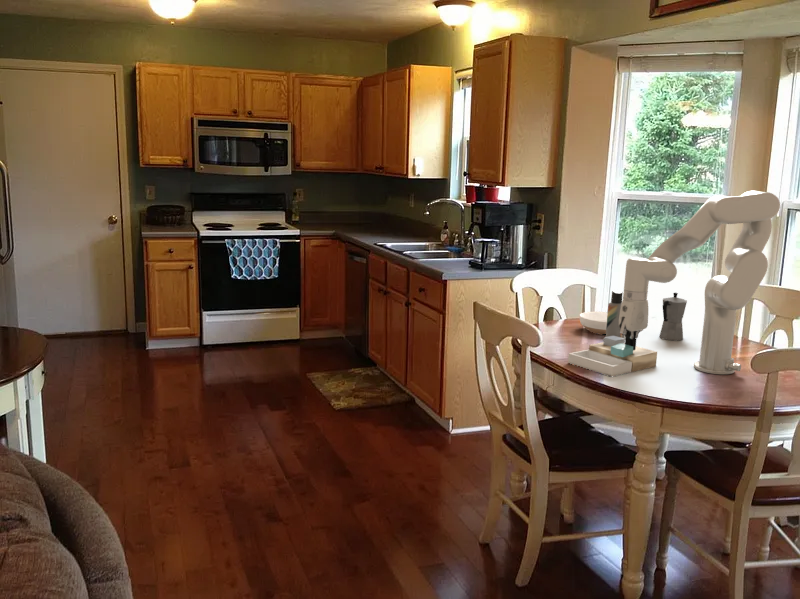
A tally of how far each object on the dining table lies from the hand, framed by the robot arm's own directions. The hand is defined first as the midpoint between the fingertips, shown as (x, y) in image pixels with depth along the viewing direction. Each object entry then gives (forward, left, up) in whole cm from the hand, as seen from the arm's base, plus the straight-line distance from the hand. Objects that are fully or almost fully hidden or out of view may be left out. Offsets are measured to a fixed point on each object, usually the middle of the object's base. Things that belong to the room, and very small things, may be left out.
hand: (629, 349), depth 245 cm
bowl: (+37, -34, -6) cm, 51 cm away
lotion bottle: (+23, -22, -6) cm, 33 cm away
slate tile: (+9, -3, -1) cm, 9 cm away
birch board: (+4, -2, -6) cm, 8 cm away
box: (+4, +10, -6) cm, 12 cm away
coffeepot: (+16, -48, -6) cm, 51 cm away
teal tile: (0, +4, -1) cm, 4 cm away
